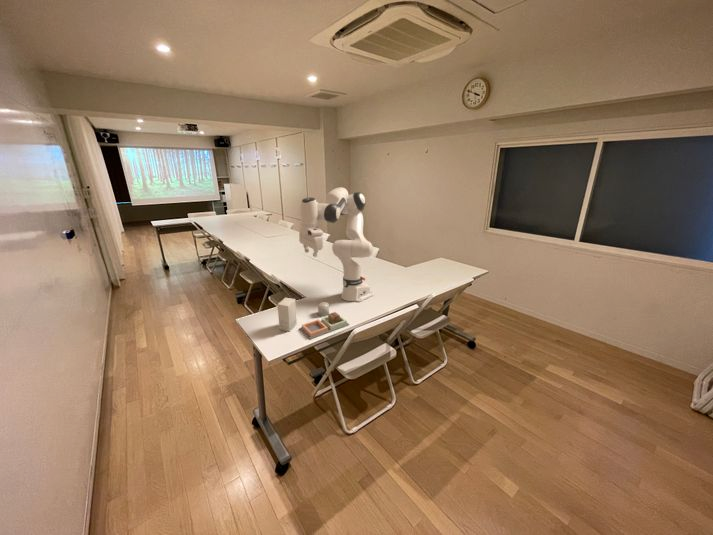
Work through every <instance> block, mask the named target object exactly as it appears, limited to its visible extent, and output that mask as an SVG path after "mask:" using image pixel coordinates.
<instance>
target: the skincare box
mask: <svg viewBox="0 0 713 535" xmlns="http://www.w3.org/2000/svg"><path fill="white" fill-rule="evenodd" d="M296 306H297V305H296V298H290V297H284V298H283V299H282V300H281V301H279V302H278V303H277V314H278V315H277V317H278V326H279V328H278V329H279V330H280V331H285V332H291V331H292V330H293V329H294V328H295V326H297V323H298V322H297V307H296Z"/></svg>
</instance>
